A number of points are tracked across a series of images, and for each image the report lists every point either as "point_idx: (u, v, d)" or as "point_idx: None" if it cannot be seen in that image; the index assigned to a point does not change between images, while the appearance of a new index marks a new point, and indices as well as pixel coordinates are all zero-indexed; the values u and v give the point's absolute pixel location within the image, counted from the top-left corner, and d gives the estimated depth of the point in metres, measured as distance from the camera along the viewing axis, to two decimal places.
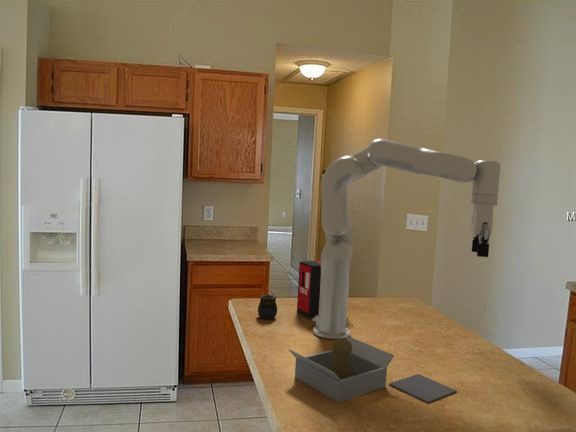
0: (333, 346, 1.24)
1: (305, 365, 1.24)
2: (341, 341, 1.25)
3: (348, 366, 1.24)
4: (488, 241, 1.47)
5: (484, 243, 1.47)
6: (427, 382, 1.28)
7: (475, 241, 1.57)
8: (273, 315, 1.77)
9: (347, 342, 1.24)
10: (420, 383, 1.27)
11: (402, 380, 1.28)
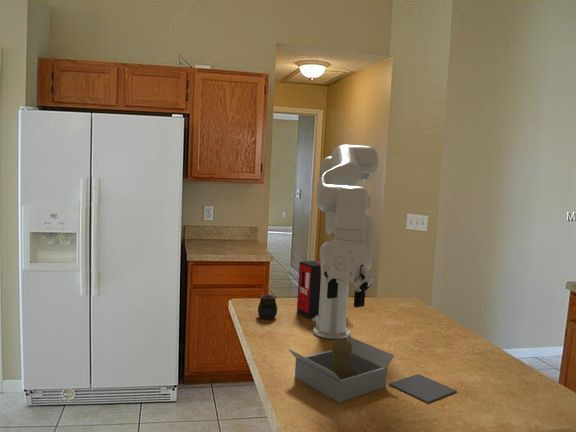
0: (333, 346, 1.24)
1: (305, 365, 1.24)
2: (341, 341, 1.25)
3: (348, 366, 1.24)
4: None
5: (363, 290, 1.19)
6: (427, 382, 1.28)
7: (331, 285, 1.27)
8: (273, 315, 1.77)
9: (347, 342, 1.24)
10: (420, 383, 1.27)
11: (402, 380, 1.28)
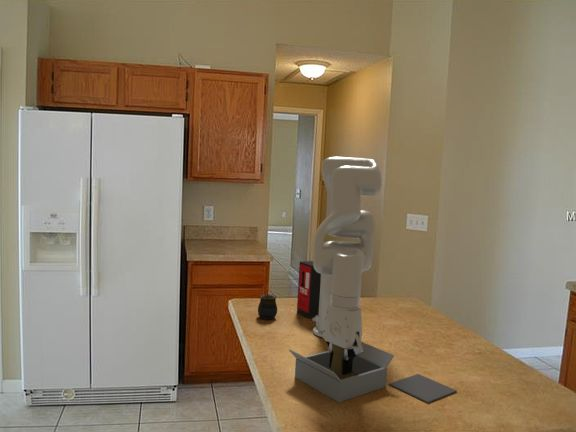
0: (333, 346, 1.24)
1: (305, 365, 1.24)
2: None
3: None
4: (354, 356, 1.23)
5: (351, 358, 1.23)
6: (427, 382, 1.28)
7: None
8: (273, 315, 1.77)
9: None
10: (420, 383, 1.27)
11: (402, 380, 1.28)
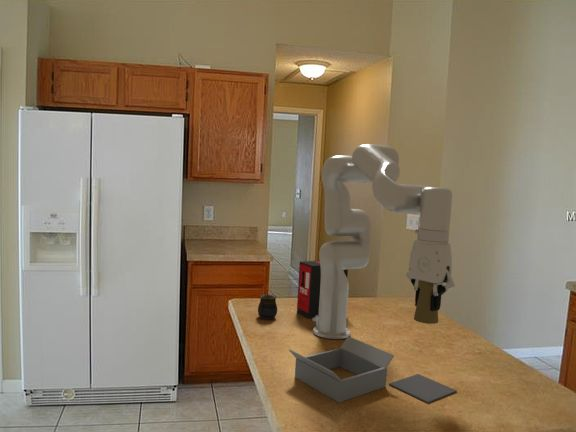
0: (420, 282, 1.22)
1: (305, 365, 1.24)
2: None
3: None
4: (443, 292, 1.21)
5: (440, 294, 1.20)
6: (427, 382, 1.28)
7: None
8: (273, 315, 1.77)
9: None
10: (420, 383, 1.27)
11: (402, 380, 1.28)
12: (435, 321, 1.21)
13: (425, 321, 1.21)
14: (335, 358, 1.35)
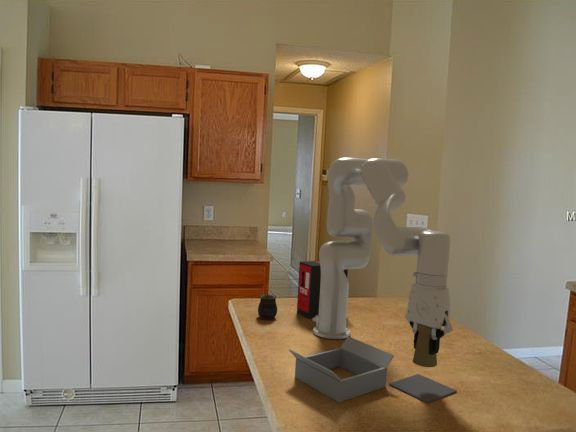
0: (419, 326, 1.23)
1: (305, 365, 1.24)
2: None
3: None
4: (441, 336, 1.22)
5: (439, 338, 1.21)
6: (427, 382, 1.28)
7: None
8: (273, 315, 1.77)
9: None
10: (420, 383, 1.27)
11: (402, 380, 1.28)
12: (434, 364, 1.22)
13: (424, 364, 1.21)
14: (335, 358, 1.35)
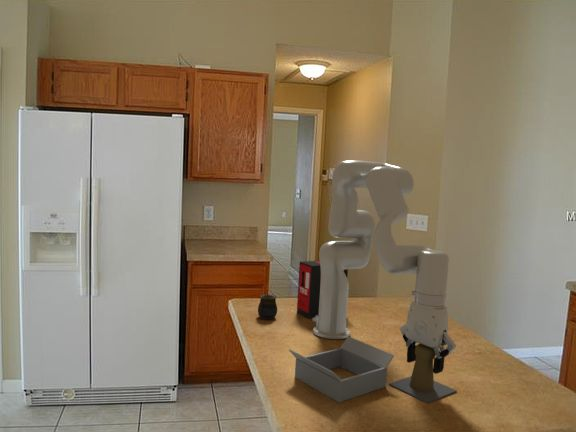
0: (417, 351, 1.23)
1: (305, 365, 1.24)
2: (425, 346, 1.23)
3: (432, 371, 1.23)
4: None
5: (443, 357, 1.20)
6: None
7: (411, 349, 1.26)
8: (273, 315, 1.77)
9: None
10: None
11: (402, 380, 1.28)
12: (431, 389, 1.22)
13: (421, 389, 1.22)
14: (335, 358, 1.35)
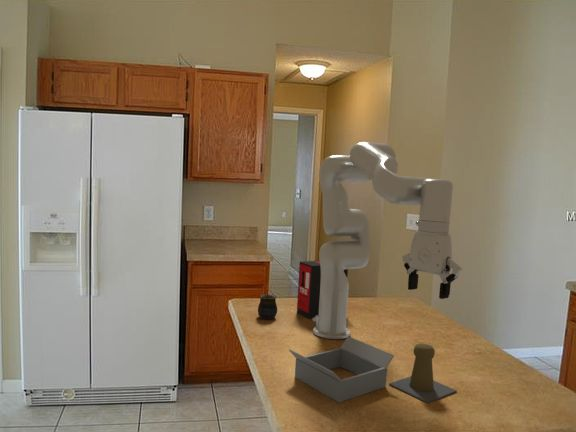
0: (416, 350, 1.23)
1: (305, 365, 1.24)
2: (424, 345, 1.23)
3: (431, 370, 1.23)
4: None
5: (449, 282, 1.20)
6: None
7: (413, 276, 1.28)
8: (273, 315, 1.77)
9: (430, 346, 1.23)
10: None
11: (402, 380, 1.28)
12: (431, 389, 1.22)
13: (421, 389, 1.22)
14: (335, 358, 1.35)
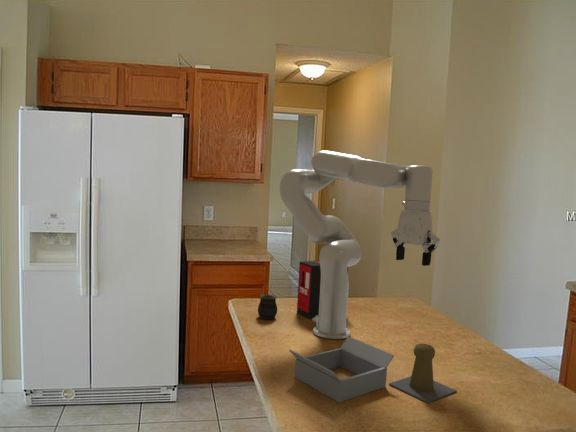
0: (416, 351, 1.23)
1: (305, 365, 1.24)
2: (424, 346, 1.23)
3: (431, 371, 1.23)
4: None
5: (430, 251, 1.43)
6: None
7: (400, 249, 1.51)
8: (273, 315, 1.77)
9: (430, 346, 1.23)
10: None
11: (402, 380, 1.28)
12: (431, 389, 1.22)
13: (421, 389, 1.22)
14: (335, 358, 1.35)
